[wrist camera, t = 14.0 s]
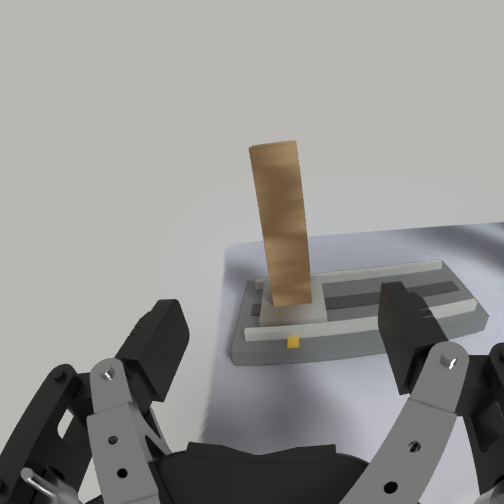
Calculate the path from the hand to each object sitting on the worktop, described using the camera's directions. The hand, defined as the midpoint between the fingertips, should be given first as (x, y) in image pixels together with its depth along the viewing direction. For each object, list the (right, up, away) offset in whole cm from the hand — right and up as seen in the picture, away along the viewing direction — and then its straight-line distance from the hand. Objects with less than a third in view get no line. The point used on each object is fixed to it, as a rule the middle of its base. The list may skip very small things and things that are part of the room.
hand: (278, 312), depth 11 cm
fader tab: (+2, -2, +12) cm, 13 cm away
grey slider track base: (+9, -3, +12) cm, 15 cm away
